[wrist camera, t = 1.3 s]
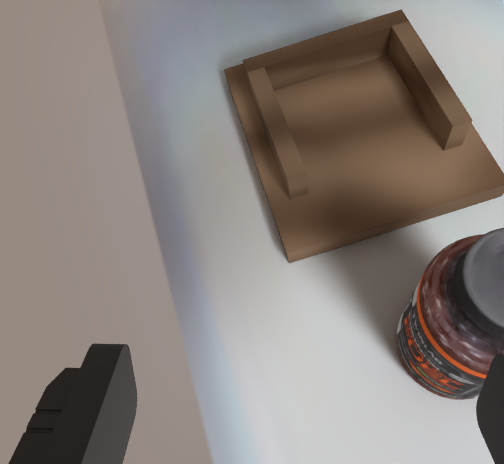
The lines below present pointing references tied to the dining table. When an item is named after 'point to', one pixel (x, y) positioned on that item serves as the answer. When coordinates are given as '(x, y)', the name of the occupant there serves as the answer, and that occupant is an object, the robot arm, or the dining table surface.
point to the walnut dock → (358, 136)
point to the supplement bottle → (456, 318)
